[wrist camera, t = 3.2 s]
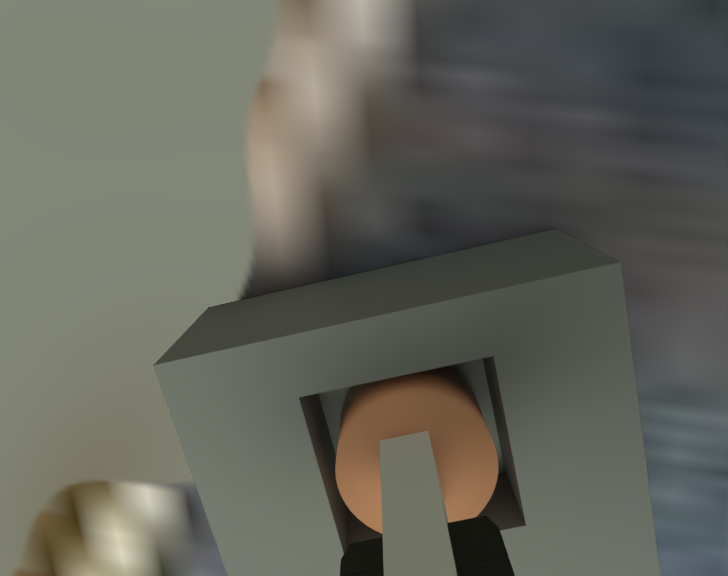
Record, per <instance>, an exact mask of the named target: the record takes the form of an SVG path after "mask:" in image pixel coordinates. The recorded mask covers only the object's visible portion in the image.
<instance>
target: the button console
mask: <svg viewBox="0 0 728 576" xmlns="http://www.w3.org/2000/svg"><path fill="white" fill-rule="evenodd" d="M445 366H446V367H448V368H450V369H452V370H453V371H454V372H456V373H457V374H458V375H460V376H461V377H462V378H463V379H464V380H465V381H466V383H467V384H468V385H469V386H470V388H471V390H472V391H473V393H474V395H475V397H476V399H477V402H478V404H479V407H480V409H481V412H482V414H483V417H484V419H485V422H486V424H487V427H488V430H489V432H490V435H491V437H492V440H493V442H494V445H495V448H496V452H497V456H498V477H497V483H496V486H495V489H494V492H493V494H492V496H491V498H490V500H489V502H488V503H487V505H486V506H485V507H484V509H483V510H482V511H481V512H480V513H479V514H478V516H476V517H480V516H487V517H489V518H490V519H491V520H492V521H493V522H494V523H495V524H496V525H497V526H498V527H499V529H500V532H501V535H502V538H503V541H504V544H505V547H506V550H507V553H508V556H509V560H510V562H511V565H512V568H513V571H514V574H515V576H660V569H659V561H658V553H657V545H656V537H655V529H654V521H653V513H652V505H651V497H650V489H649V481H648V473H647V465H646V457H645V449H644V441H643V433H642V425H641V417H640V409H639V401H638V393H637V385H636V377H635V369H634V361H633V353H632V345H631V337H630V329H629V321H628V313H627V305H626V297H625V289H624V281H623V273H622V265H621V262H620V261H618V260H616V259H614V258H612V257H610V256H608V255H606V254H604V253H602V252H600V251H598V250H597V249H595V248H593V247H591V246H589V245H587V244H585V243H583V242H581V241H579V240H577V239H575V238H573V237H571V236H569V235H567V234H565V233H563V232H561V231H559V230H557V229H552V230H548V231H543V232H539V233H534V234H530V235H526V236H521V237H517V238H512V239H508V240H504V241H499V242H495V243H490V244H486V245H482V246H477V247H473V248H468V249H464V250H459V251H455V252H451V253H446V254H442V255H437V256H433V257H429V258H424V259H420V260H415V261H411V262H407V263H402V264H398V265H393V266H389V267H385V268H380V269H376V270H371V271H367V272H363V273H358V274H354V275H349V276H345V277H340V278H336V279H332V280H327V281H323V282H318V283H314V284H310V285H305V286H301V287H296V288H292V289H288V290H283V291H279V292H274V293H270V294H266V295H261V296H257V297H252V298H248V299H244V300H239V301H235V302H230V303H226V304H221V305H218V306H213V307H208V309H207V310H206V311H205V312H204V313H203V314H202V315H201V316H200V317H199V318H198V319H197V320H196V321H195V322H194V323H193V324H192V325H191V326H190V327H189V328H188V330H187V331H186V332H185V333H184V334H183V335H182V336H181V337H180V338H179V339H178V340H177V341H176V342H175V343H174V344H173V345H172V347H170V348H169V349H168V350H167V352H166V353H165V354H164V355H163V356H162V357H161V358H160V359H159V360H158V361H157V362H156V363H155V364H154V369H155V371H156V374H157V377H158V380H159V383H160V386H161V388H162V391H163V394H164V397H165V400H166V403H167V405H168V408H169V411H170V414H171V417H172V419H173V422H174V425H175V428H176V431H177V433H178V436H179V439H180V442H181V445H182V448H183V450H184V453H185V456H186V459H187V462H188V465H189V467H190V470H191V473H192V476H193V479H194V482H195V484H196V487H197V490H198V493H199V496H200V499H201V501H202V504H203V507H204V510H205V513H206V516H207V518H208V521H209V524H210V527H211V530H212V533H213V535H214V538H215V541H216V544H217V547H218V549H219V552H220V555H221V558H222V561H223V564H224V566H225V569H226V572H227V575H228V576H340V564H341V558H342V557H343V555H344V553H345V551H346V549H347V547H348V546H349V544H350V543H355V542H360V541H365V540H370V539H375V538H380V537H383V535H382V533H379V532H377V531H375V530H373V529H372V528H370V527H368V526H367V525H365V524H364V523H363V522H361V521H360V520H359V519H358V518H357V517H356V516H355V515H354V514H353V513H352V512H351V511H350V509H349V508H348V507H347V505H346V504H345V502H344V500H343V498H342V497H341V494H340V492H339V489H338V486H337V481H336V473H335V465H336V455H337V446H338V437H339V428H340V420H341V412H342V408H343V404H344V401H345V399H346V396H347V395H348V393H349V391H350V389H351V388H352V387H353V386H355V385H360V384H365V383H369V382H374V381H379V380H384V379H388V378H393V377H398V376H402V375H407V374H412V373H417V372H421V371H426V370H431V369H435V368H440V367H445Z"/></svg>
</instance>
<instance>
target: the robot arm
mask: <svg viewBox="0 0 728 576" xmlns="http://www.w3.org/2000/svg"><path fill="white" fill-rule="evenodd" d="M379 441H380V473H381V504H382V535H383V537H380V538H375V539H370V540H365V541H360V542H355V543H350V544H349V546H348V547H347V549H346V551H345V553H344V555H343V557H342V558H341V564H340V576H515V574H514V571H513V568H512V565H511V562H510V560H509V556H508V553H507V550H506V547H505V544H504V541H503V538H502V535H501V532H500V529H499V527H498V526H497V525H496V524H495V523H494V522H493V521H492V520H491V519H490V518H489V517H487V516H480V517H475V518H470V519H465V520H460V521H455V522H450V523H449V520H448V515H447V511H446V506H445V501H444V497H443V493H442V488H441V484H440V480H439V475H438V471H437V467H436V462H435V458H434V454H433V449H432V445H431V441H430V436H429V432H428V431H423V432H418V433H413V434H408V435H404V436H399V437H394V438H389V439H384V440H379Z"/></svg>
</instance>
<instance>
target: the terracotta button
mask: <svg viewBox="0 0 728 576" xmlns="http://www.w3.org/2000/svg"><path fill="white" fill-rule="evenodd" d="M423 431H428V432H429V436H430V441H431V445H432V449H433V454H434V458H435V462H436V467H437V471H438V475H439V480H440V484H441V488H442V493H443V497H444V501H445V506H446V511H447V515H448V520H449V523H450V522H455V521H460V520H465V519H470V518H475V517H476V516H478V514H479V513H480V512H481V511H482V510H483V509H484V507H485V506H486V505H487V503H488V502H489V500H490V498H491V496H492V494H493V492H494V489H495V486H496V483H497V477H498V456H497V452H496V448H495V445H494V442H493V440H492V437H491V435H490V432H489V430H488V427H487V424H486V422H485V419H484V417H483V414H482V412H481V409H480V407H479V404H478V402H477V399H476V397H475V395H474V393H473V391H472V390H471V388H470V386H469V385H468V384H467V383H466V381H465V380H464V379H463V378H462V377H461V376H460V375H458V374H457V373H456V372H454V371H453V370H452V369H450V368H448V367H446V366H445V367H440V368H435V369H431V370H426V371H421V372H417V373H412V374H407V375H402V376H398V377H393V378H388V379H384V380H379V381H374V382H369V383H365V384H360V385H355V386H353V387H352V388H351V389H350V391H349V393H348V395H347V396H346V399H345V401H344V404H343V408H342V412H341V420H340V428H339V437H338V446H337V455H336V465H335V473H336V481H337V486H338V489H339V492H340V494H341V497H342V498H343V500H344V502H345V504H346V505H347V507H348V508H349V509H350V511H351V512H352V513H353V514H354V515H355V516H356V517H357V518H358V519H359V520H360V521H361V522H363V523H364V524H365V525H367V526H368V527H370V528H372V529H373V530H375V531H377V532H379V533H382V504H381V473H380V441H379V440H384V439H389V438H394V437H399V436H404V435H408V434H413V433H418V432H423Z"/></svg>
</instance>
